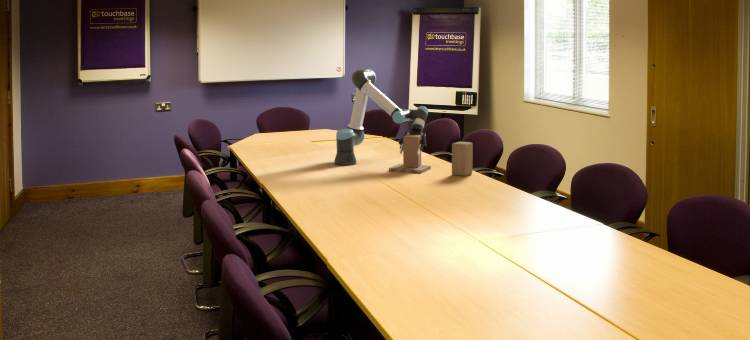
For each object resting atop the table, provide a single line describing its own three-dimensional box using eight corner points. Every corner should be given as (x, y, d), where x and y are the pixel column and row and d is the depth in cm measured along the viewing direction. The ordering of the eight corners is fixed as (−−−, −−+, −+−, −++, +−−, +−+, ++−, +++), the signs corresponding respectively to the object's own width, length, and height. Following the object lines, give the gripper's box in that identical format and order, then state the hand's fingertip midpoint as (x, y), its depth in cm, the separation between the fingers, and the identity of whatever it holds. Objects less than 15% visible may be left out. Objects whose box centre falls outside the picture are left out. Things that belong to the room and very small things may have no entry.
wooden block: (418, 167, 452) (418, 136, 448) (403, 167, 454) (403, 136, 451) (421, 165, 461) (421, 134, 458) (406, 164, 464) (406, 134, 460)
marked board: (389, 171, 452) (389, 168, 451) (399, 166, 468) (399, 163, 468) (421, 173, 443) (421, 170, 442) (430, 168, 459) (430, 165, 459)
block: (458, 172, 445) (459, 141, 441) (472, 174, 439) (473, 142, 436) (451, 175, 437) (451, 143, 433) (465, 176, 431) (465, 144, 427)
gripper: (436, 131, 461) (428, 157, 450) (402, 129, 470) (393, 155, 459) (433, 123, 455) (425, 150, 444) (399, 122, 464) (390, 149, 453)
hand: (409, 153), depth 452 cm, fingers open, 11 cm apart
